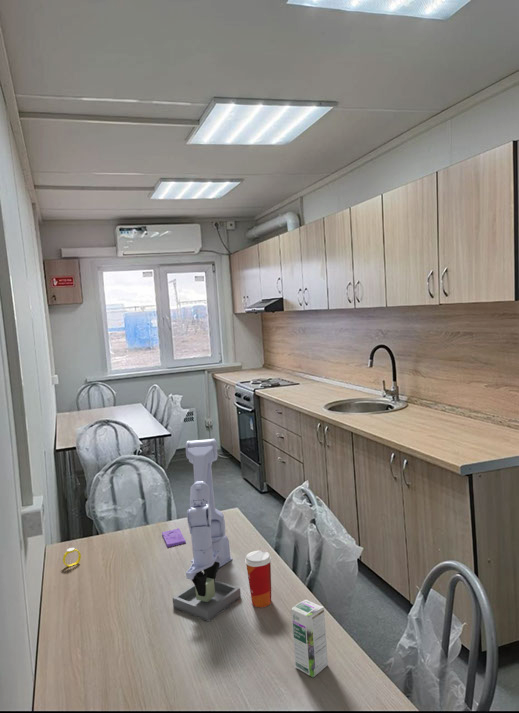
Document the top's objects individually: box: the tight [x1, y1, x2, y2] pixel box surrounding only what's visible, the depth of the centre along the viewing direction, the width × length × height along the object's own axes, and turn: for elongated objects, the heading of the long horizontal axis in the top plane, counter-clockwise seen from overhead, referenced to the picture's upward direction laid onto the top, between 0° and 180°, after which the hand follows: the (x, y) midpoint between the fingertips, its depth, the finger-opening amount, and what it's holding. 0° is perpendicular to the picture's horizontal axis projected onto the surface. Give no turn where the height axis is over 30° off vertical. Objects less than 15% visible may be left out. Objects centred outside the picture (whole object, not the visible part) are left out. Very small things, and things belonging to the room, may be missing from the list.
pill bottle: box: [244, 550, 272, 609], centre depth 151 cm, size 8×8×14 cm
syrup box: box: [290, 599, 329, 678], centre depth 122 cm, size 6×6×14 cm
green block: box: [195, 578, 215, 602], centre depth 153 cm, size 4×4×5 cm
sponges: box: [161, 528, 187, 548], centre depth 201 cm, size 7×13×2 cm, turn 20°
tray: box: [172, 579, 242, 622], centre depth 153 cm, size 14×14×3 cm
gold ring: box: [62, 547, 82, 568], centre depth 185 cm, size 6×3×6 cm, turn 131°
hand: (206, 591), depth 153 cm, fingers closed on green block, 4 cm apart
